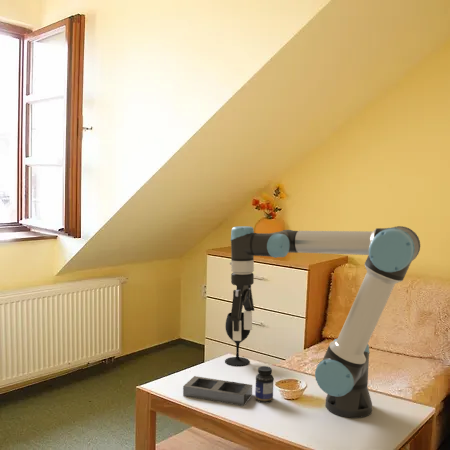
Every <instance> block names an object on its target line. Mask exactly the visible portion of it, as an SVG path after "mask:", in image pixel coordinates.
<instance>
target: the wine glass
mask: <svg viewBox="0 0 450 450" xmlns="http://www.w3.org/2000/svg"><path fill="white" fill-rule="evenodd" d="M230 318H231V312H229V313H227V316H226V319H225V332H226V334H227V336H228V338H229V339H230V340H231V341H232V342H234V343H235V346H236V347H235V349H236V350H235V351H236V353H235V356H232V357H228V358H225V360H224V363H225V364H226V365H228V366H230V365H231V367H245V366H248V365H250V362H251V361H250V360H249V359H248V358H247V357H241V356H240V352H239V351H240V344H241V343H243V341H245V340H246V339H247V337H248V336H249V335H250V333H251V330H244V311H243V312H242V313H241V319H240V321H241V341H234V340H233V321H230Z"/></svg>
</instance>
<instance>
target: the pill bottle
mask: <svg viewBox="0 0 450 450" xmlns="http://www.w3.org/2000/svg"><path fill="white" fill-rule="evenodd" d="M257 372H258V373H257V374H256V375H255V392H254V393H255V396H254V399H255V400H256V401H257V402H259V403H263V404H266V403H267V404H268V403H271V402H272V401H273V400H274V375H273V374H272V373H273V368H272V367H270V366H265V365H263V366H259V367H258V368H257Z"/></svg>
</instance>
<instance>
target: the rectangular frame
mask: <svg viewBox="0 0 450 450" xmlns="http://www.w3.org/2000/svg"><path fill="white" fill-rule="evenodd" d="M252 395H253V384H250V383H249V384H248V383H243V382H236V381H235V382H234V381H229V380H221V379H217V378H210V377H203V376H196V375H194V376H193V377H192V378H191V379H189V380H188V381H187V382H186V383H184V385H183V388H182V396H183V397H186V398H187V397H188V398H194V399H199V400H205V401H211V402H217V403H225V404H230V405H235V406H242V407H245V405H246V404H247V402H248V401H249V399H250V398H251V397H252Z"/></svg>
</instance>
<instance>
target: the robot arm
mask: <svg viewBox="0 0 450 450" xmlns="http://www.w3.org/2000/svg"><path fill="white" fill-rule="evenodd" d="M230 231H231V235H230V250H231V253H230V254H231V255H230V256H231V257H230V259H231V260H230V261H231V262H229V265H231V266H230V268H231V272H232V273H231V274H230V281H231V284H232V285H233V286H236V289H233V290H232V294H233V295H232V301H231V302H232V303H231V312H230V313H231V318H230V321H233V340H234V341H241V321H240V319H241V313H242V311H243V313H244V330H250V331H252V330H253V311H255V307H254V299H253V298H254V297H253V292H252V285H253V284H254V281H255V279H254V277H255V274H254V273H253V272H254V271H255V267H254V266H255V265H254V257H269V258H275V259H277V258H285V257H286V256H288V253H293V254H294V253H295V254H298V253H299V254H300V253H301V254H328V255H332V254H333V255H359V256H367V258H366V259H365V262H364V266H365V269H366V273H365V275H364V278H363V280H362V282H361V283H360V286H359V289H358V291H357V294H356V296H355V299H354V300H353V303H352V305H351V307H350V310H349V312H348V314H347V317H346V319H345V321H344V324H343V326H342V328H341V330H340V332H339V334H338V337H337V338H334V340H333V341H330V342H329V345H328V347H327V349H326V351H325V354H324V356H323V358H322V360H321V361H320V362H318V364H317V365H316V368H315V371H314V377H315V381H316V384H317V385H318V387H319V388H320V390H322V391H323V392H324V393H326V397H325V408H326V409H327V410H328V411H329V412H330V413H332V414H335V415H337V416H341V417H345V418H351V419H352V418H354V419H355V418H365V417H367V416H369V415H371V414H372V412H373V402H372V398H371V395H370V391H369V387H368V384H369V383H368V382H369V366H370V365H369V360H370V353H371V352H370V345H369V342H370V340H371V337H372V335H373V333H374V332H375V329H376V327H377V324H378V322H379V320H380V318H381V316H382V314H383V312H384V309H385V307H386V305H387V303H388V300H389V299H390V296H391V294H392V292H393V289H394V287H395V285H396V284H399V283H402V282H403V281H404V279H405V277H406V275H407V273H408V270H409V269H410V266H411V263H412V262H414V260H415V259H416V258H417V257H418V256H419V253H420V250H421V241H420V238H419V236H418V235H417V233H416V232H415V231H414V230H412V229H411V228H409V227H406V226H402V225H398V226H393V227H384V228H381V227H380V228H375V229H373V231H365V230H364V231H363V230H362V231H361V230H359V231H358V230H340V231H339V230H291V229H283V230H280V231H275V232H271V233H270V232H269V233H267V232H266V233H264V232H261V233H258V232H255V230H254V227H253V226H247V225H246V226H245V225H243V226H239V225H238V226H233V227H232V228H231V230H230ZM243 308H244V310H243ZM233 340H232V341H233ZM234 341H233V342H234Z"/></svg>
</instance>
